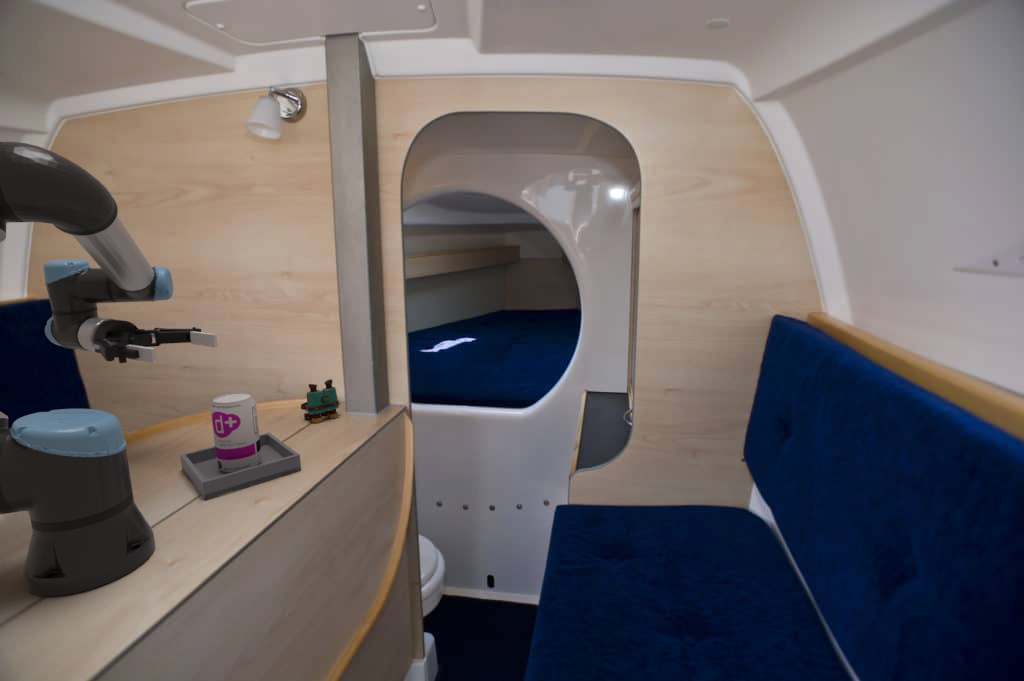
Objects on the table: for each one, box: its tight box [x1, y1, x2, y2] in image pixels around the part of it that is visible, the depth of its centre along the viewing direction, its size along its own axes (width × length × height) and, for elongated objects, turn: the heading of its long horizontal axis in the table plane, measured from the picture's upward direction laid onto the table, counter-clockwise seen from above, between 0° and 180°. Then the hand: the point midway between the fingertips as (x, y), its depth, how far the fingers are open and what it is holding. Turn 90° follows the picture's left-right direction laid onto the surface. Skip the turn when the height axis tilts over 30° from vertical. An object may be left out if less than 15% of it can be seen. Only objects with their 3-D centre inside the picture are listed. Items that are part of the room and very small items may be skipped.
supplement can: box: [209, 392, 262, 473], centre depth 107 cm, size 8×8×15 cm
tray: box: [179, 432, 302, 501], centre depth 108 cm, size 18×18×4 cm
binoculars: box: [300, 378, 340, 424], centre depth 140 cm, size 9×11×10 cm
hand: (186, 347), depth 103 cm, fingers open, 13 cm apart
